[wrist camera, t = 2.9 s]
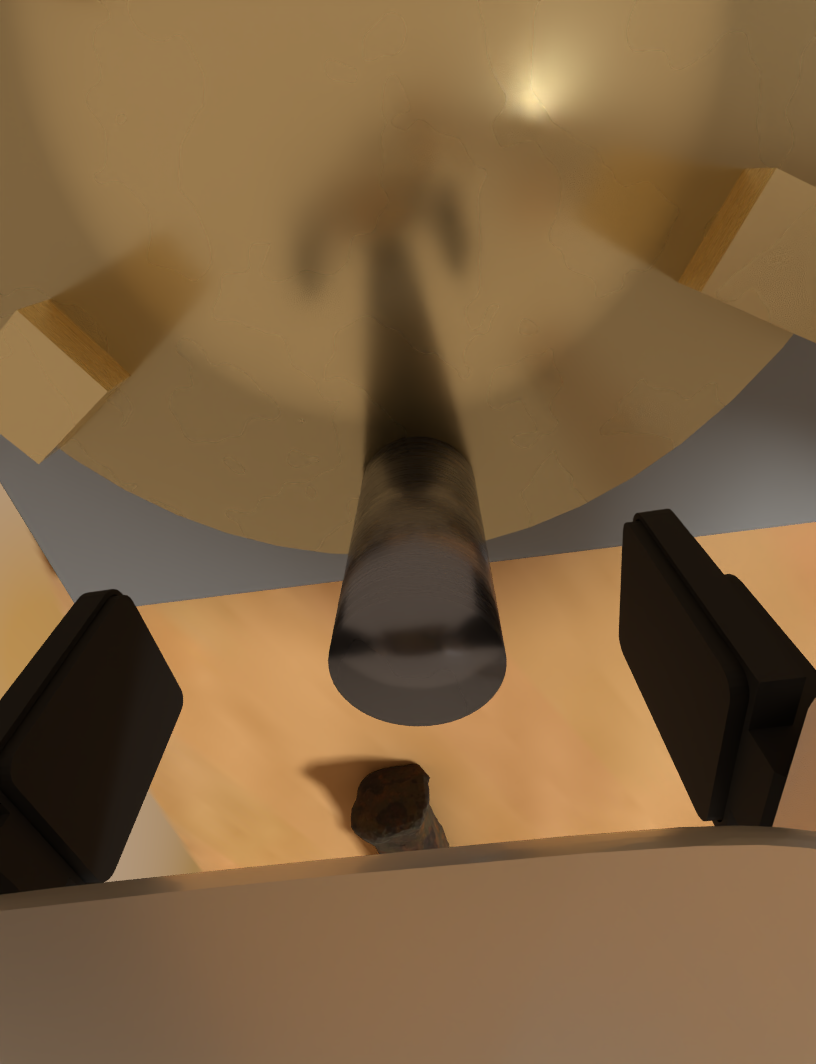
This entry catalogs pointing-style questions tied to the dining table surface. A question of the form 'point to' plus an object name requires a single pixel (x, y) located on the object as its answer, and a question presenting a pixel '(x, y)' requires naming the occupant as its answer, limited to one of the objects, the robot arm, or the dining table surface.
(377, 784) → the hand tool
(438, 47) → the beige piece
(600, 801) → the dining table surface
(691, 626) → the robot arm
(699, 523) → the base plate
